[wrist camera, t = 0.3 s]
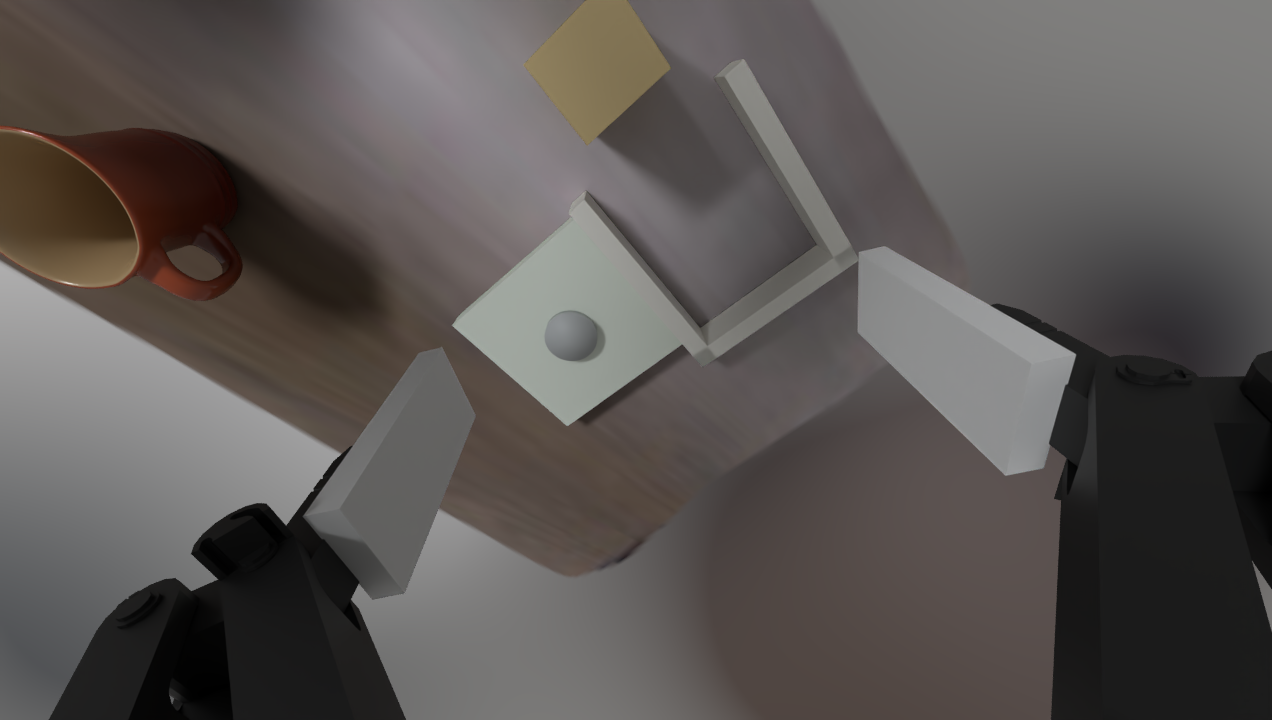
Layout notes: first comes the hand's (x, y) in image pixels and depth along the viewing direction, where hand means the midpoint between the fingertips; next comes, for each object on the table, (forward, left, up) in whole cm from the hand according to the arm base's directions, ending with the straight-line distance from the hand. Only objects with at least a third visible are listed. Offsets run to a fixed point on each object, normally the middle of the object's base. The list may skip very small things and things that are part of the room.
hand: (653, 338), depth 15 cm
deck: (+7, -3, -25) cm, 26 cm away
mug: (-19, -24, -25) cm, 40 cm away
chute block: (-7, +4, -25) cm, 26 cm away
